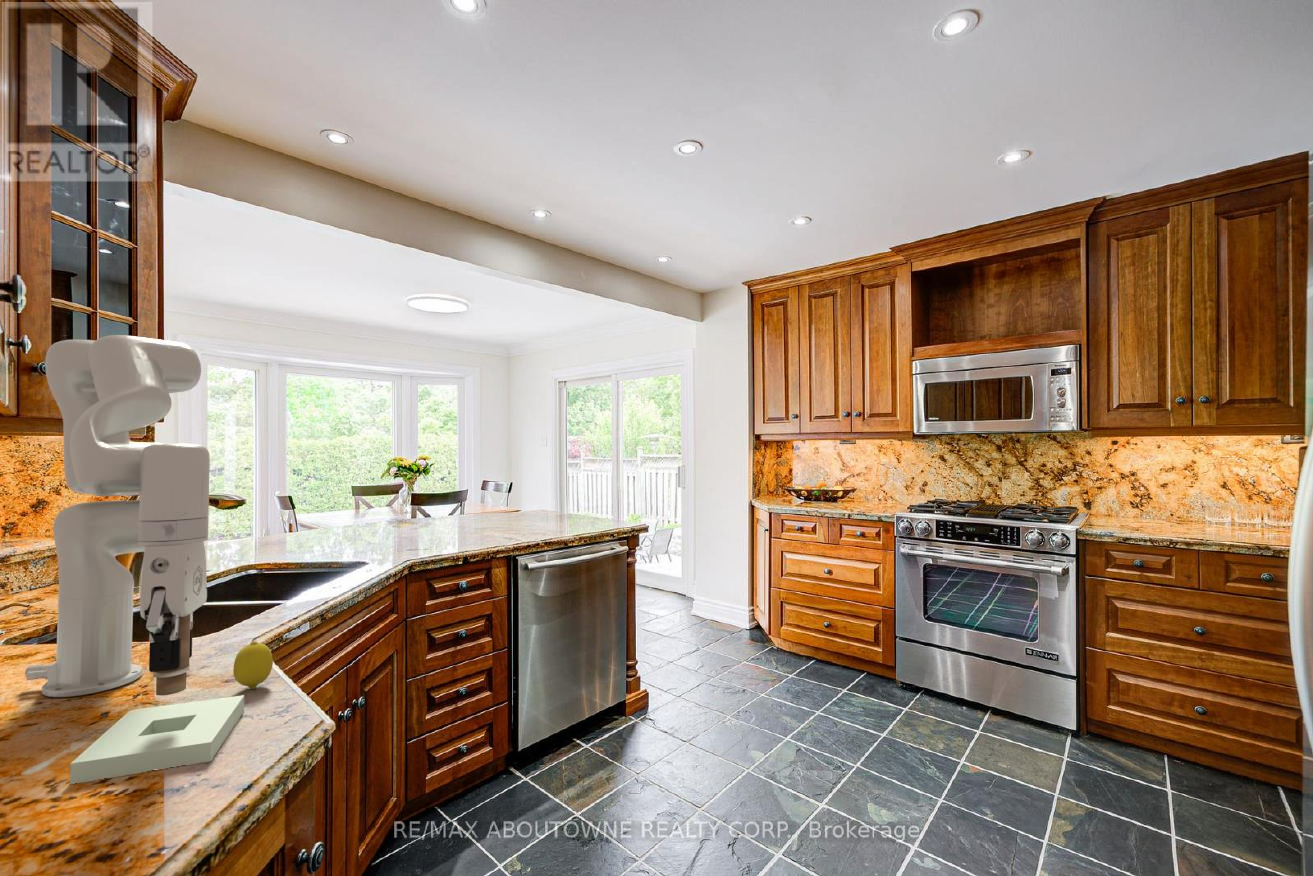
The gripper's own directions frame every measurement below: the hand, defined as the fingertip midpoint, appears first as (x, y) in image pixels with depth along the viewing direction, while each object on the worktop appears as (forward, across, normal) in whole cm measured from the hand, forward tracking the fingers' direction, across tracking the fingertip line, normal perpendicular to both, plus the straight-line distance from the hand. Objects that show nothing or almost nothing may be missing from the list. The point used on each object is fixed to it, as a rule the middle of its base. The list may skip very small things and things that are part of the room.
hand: (171, 663), depth 80 cm
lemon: (+11, +18, -6) cm, 22 cm away
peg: (+4, 0, 0) cm, 4 cm away
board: (+11, 0, 0) cm, 11 cm away
